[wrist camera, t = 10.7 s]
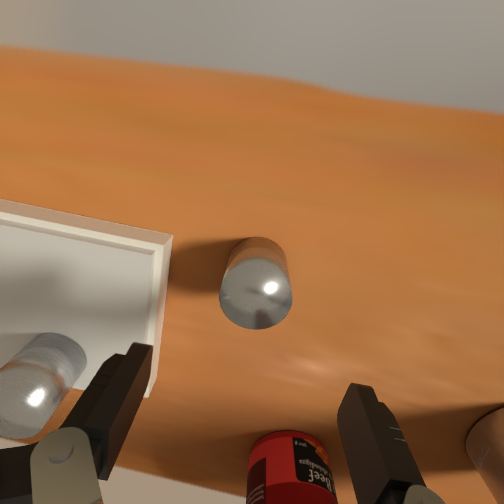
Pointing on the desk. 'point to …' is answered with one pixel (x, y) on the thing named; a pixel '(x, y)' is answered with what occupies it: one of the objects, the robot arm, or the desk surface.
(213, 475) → the desk surface
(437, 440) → the desk surface
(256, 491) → the canned food
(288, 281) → the disc
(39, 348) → the cylinder
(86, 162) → the desk surface
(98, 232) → the scale
